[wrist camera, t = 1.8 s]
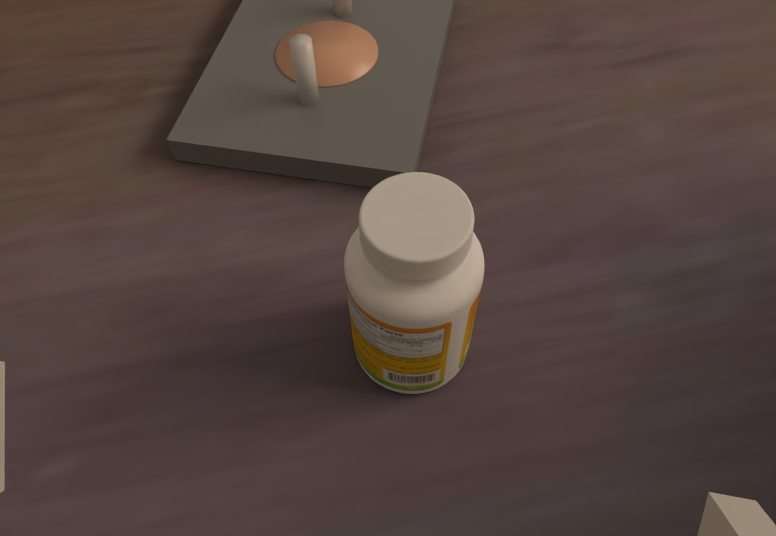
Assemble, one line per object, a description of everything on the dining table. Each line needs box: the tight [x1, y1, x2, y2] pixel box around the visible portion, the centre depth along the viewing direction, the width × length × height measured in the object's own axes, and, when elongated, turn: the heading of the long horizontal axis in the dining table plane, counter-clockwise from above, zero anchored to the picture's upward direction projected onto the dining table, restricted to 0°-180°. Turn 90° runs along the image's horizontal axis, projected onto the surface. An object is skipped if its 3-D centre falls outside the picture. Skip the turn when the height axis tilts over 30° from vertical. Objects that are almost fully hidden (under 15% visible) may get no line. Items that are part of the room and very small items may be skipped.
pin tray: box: [167, 0, 456, 188], centre depth 38 cm, size 14×18×6 cm
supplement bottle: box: [344, 172, 484, 394], centre depth 25 cm, size 5×5×10 cm
